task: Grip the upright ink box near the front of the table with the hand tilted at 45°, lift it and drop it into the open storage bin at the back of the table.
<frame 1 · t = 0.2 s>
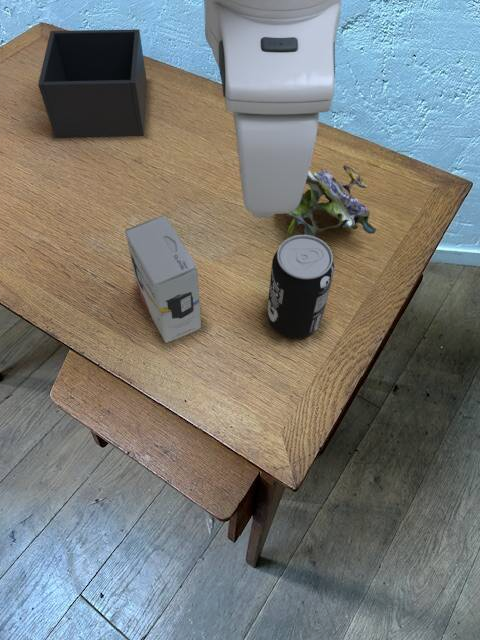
hand: (259, 171, 48), 23 cm above the table, tool pointing down, fingers open, 8 cm apart
beverage can: (293, 319, 67), on the table
ink box: (169, 310, 67), on the table
open storage bin: (103, 109, 88), on the table
passion flower: (318, 231, 75), on the table
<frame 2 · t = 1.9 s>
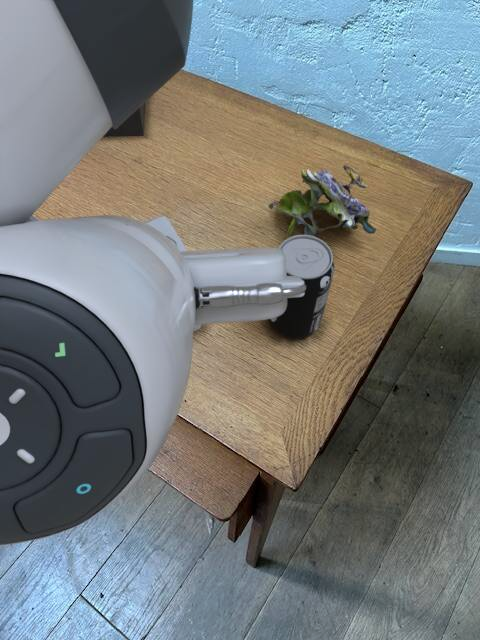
hand: (139, 273, 41), 23 cm above the table, tool tilted 45°, fingers open, 8 cm apart
nothing on the table moved.
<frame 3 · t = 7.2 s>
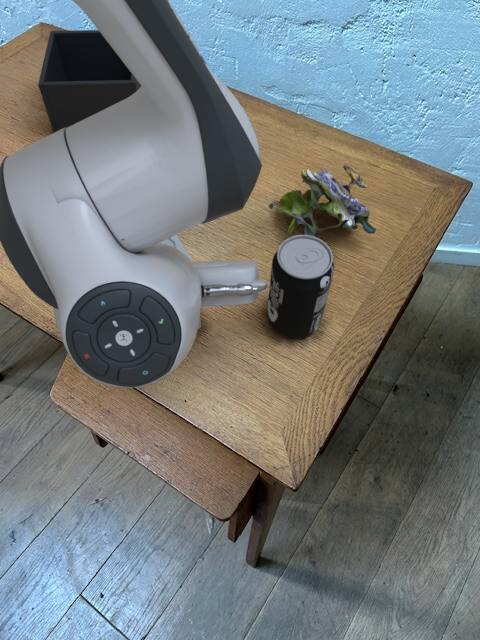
hand: (164, 273, 62), 6 cm above the table, tool tilted 45°, fingers closed on ink box, 7 cm apart
ink box: (169, 310, 67), on the table, touching gripper
everything else where it was.
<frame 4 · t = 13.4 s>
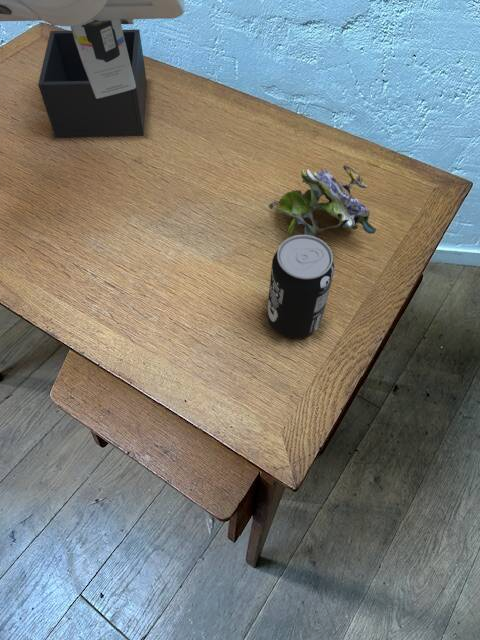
hand: (92, 17, 59), 23 cm above the table, tool tilted 45°, fingers closed on ink box, 6 cm apart
ink box: (108, 75, 65), point 17 cm above the table, touching gripper
everything else where it was.
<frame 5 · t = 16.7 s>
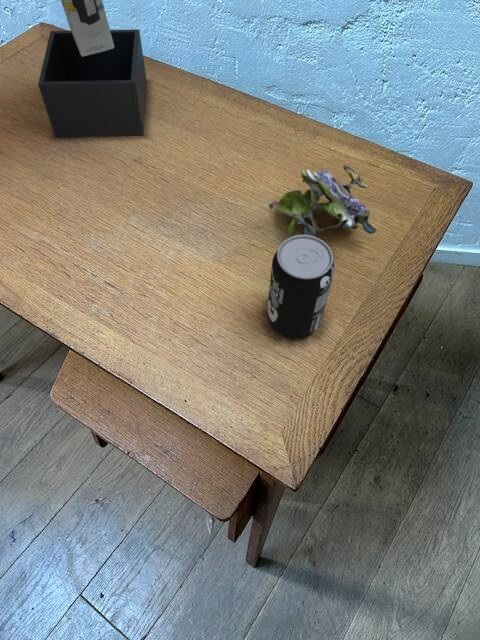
ink box: (92, 38, 78), point 11 cm above the table, touching gripper
everything else where it was.
when the fingers open (8 cm above the table, at t = 19.7 s): ink box stays where it is, resting on open storage bin.
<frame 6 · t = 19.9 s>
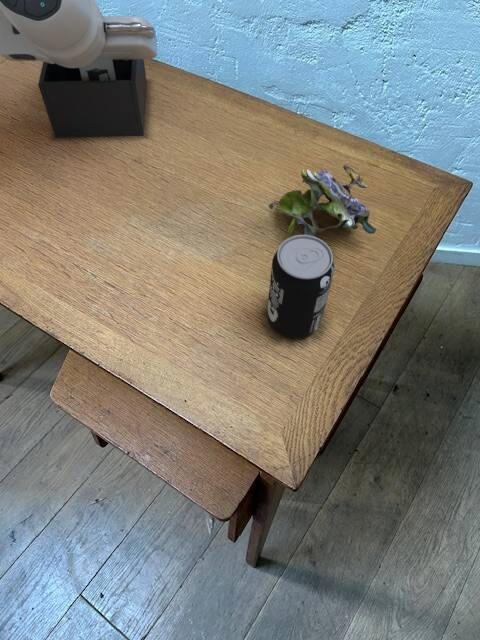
hand: (91, 55, 81), 9 cm above the table, tool tilted 45°, fingers open, 8 cm apart
ink box: (104, 103, 87), point 1 cm above the table, touching open storage bin
everything else where it was.
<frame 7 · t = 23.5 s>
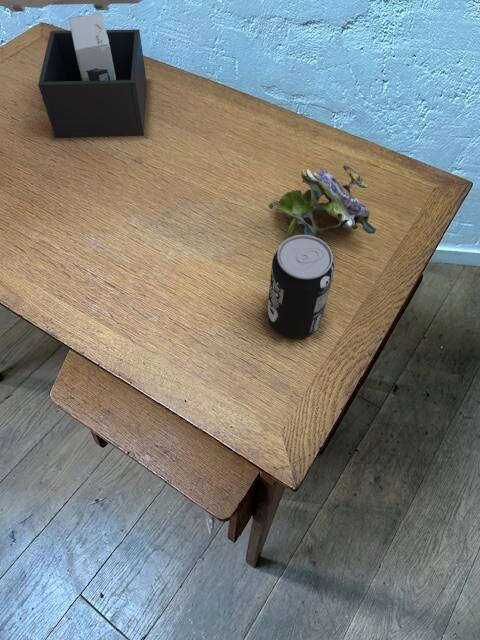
hand: (60, 3, 63), 22 cm above the table, tool tilted 45°, fingers open, 8 cm apart
nothing on the table moved.
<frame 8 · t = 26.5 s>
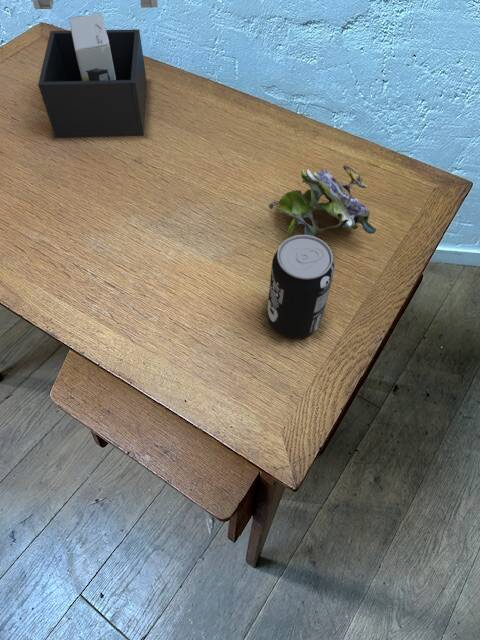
hand: (97, 5, 50), 29 cm above the table, tool pointing down, fingers open, 8 cm apart
nothing on the table moved.
at the end: ink box inside the target area in the open storage bin (0.4 cm from its centre), point 0.8 cm above the open storage bin's base; the gripper is holding nothing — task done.
